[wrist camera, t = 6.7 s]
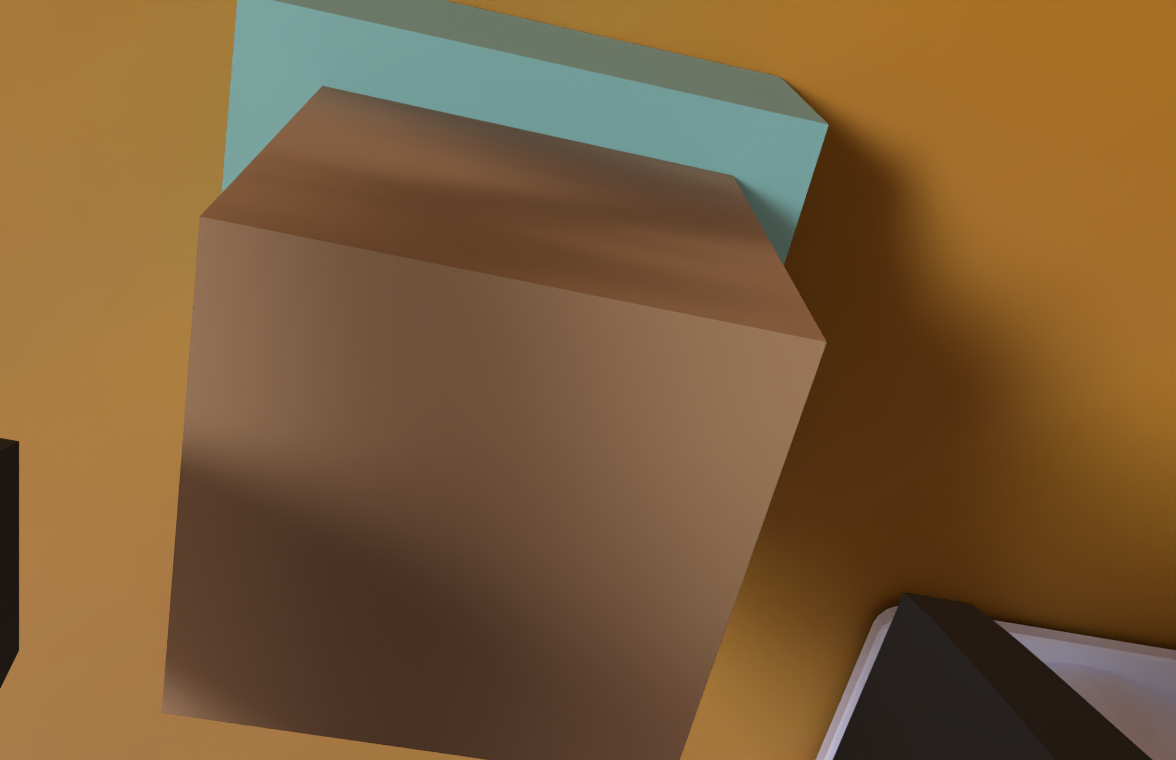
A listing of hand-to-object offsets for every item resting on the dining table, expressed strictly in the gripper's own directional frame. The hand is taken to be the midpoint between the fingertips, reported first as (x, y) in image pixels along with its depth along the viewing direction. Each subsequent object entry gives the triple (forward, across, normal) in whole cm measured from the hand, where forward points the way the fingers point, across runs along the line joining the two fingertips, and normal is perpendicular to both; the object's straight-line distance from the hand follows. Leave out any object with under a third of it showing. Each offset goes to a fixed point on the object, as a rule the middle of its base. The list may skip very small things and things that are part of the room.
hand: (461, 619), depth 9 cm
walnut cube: (+6, 0, 0) cm, 6 cm away
